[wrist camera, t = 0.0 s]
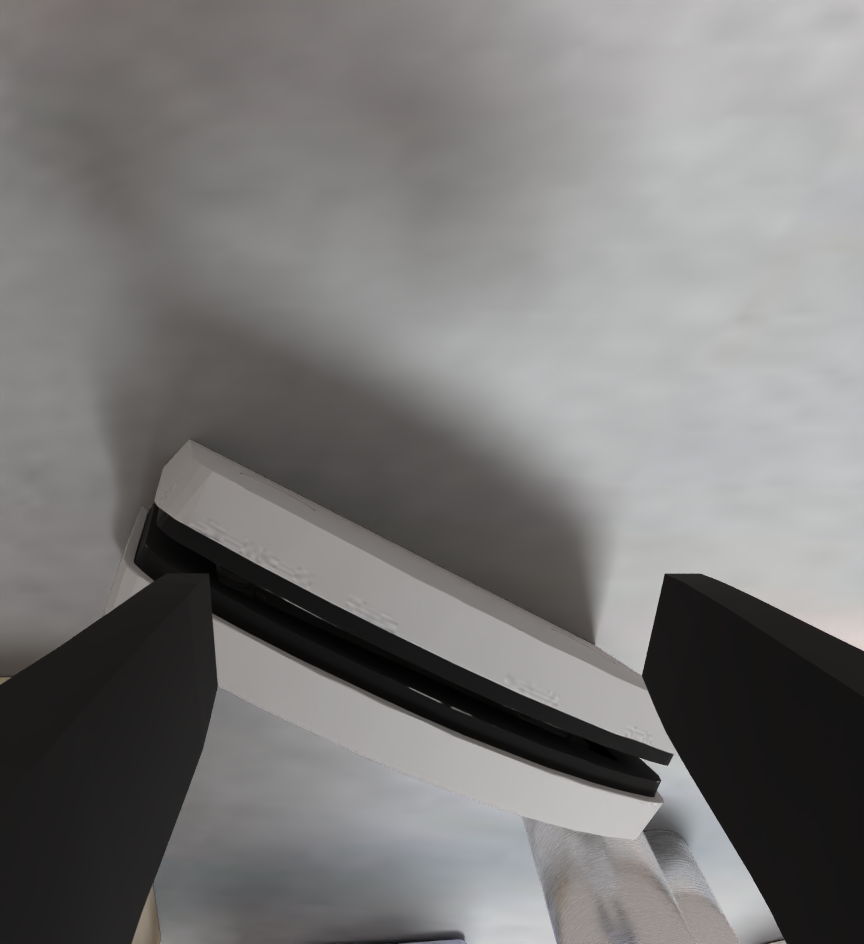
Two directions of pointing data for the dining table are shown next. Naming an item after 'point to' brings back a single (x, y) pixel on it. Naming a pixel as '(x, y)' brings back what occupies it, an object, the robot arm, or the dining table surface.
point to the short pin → (690, 889)
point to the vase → (779, 942)
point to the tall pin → (604, 888)
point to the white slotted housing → (400, 653)
